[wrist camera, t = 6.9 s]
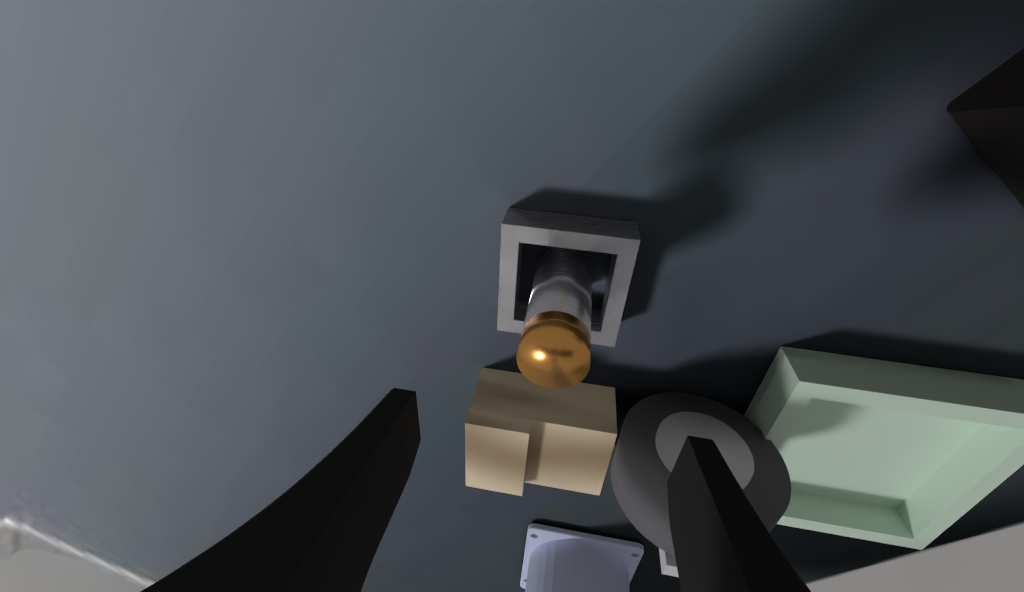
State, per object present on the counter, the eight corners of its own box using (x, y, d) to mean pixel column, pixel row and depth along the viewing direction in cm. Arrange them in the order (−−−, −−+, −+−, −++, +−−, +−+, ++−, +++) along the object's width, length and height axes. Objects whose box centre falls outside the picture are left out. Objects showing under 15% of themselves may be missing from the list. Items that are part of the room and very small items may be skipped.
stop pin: (587, 295, 20) (584, 393, 15) (534, 288, 20) (514, 382, 15) (596, 248, 18) (595, 339, 13) (539, 241, 19) (519, 328, 14)
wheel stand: (728, 463, 24) (769, 605, 19) (602, 441, 25) (603, 573, 19) (763, 400, 21) (824, 546, 16) (619, 378, 22) (626, 510, 16)
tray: (897, 509, 24) (921, 549, 22) (711, 477, 25) (719, 514, 23) (1028, 380, 19) (1074, 421, 17) (780, 346, 20) (799, 381, 18)
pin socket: (613, 324, 20) (614, 346, 19) (503, 309, 21) (497, 330, 20) (637, 222, 17) (640, 240, 16) (508, 207, 18) (501, 223, 17)
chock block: (599, 445, 26) (599, 510, 22) (482, 425, 26) (465, 485, 23) (614, 384, 23) (617, 448, 20) (483, 364, 23) (465, 423, 20)
